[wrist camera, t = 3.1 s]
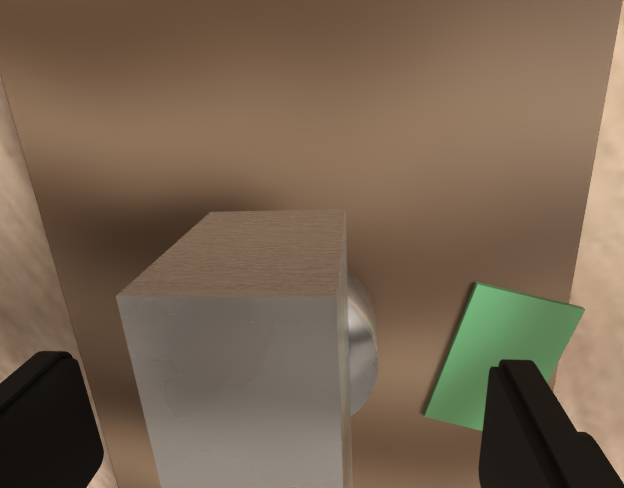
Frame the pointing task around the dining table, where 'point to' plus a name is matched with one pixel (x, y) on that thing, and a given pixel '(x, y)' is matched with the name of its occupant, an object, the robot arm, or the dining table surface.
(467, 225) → the board
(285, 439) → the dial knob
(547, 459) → the robot arm
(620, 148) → the dining table surface
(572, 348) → the dining table surface
